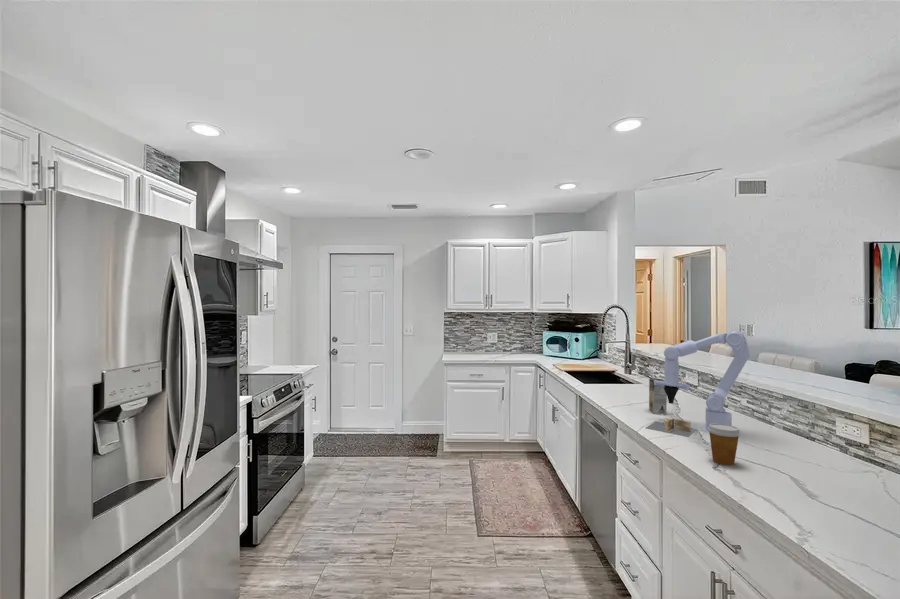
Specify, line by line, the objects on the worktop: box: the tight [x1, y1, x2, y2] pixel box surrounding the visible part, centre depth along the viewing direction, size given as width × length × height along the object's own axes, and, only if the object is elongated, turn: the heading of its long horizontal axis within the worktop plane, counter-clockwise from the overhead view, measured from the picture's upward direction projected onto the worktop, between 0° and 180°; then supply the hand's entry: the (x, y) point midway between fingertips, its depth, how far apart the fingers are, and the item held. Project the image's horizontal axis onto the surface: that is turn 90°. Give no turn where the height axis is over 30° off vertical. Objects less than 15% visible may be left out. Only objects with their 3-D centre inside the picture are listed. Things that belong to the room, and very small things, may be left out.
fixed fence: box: [674, 418, 692, 432], centre depth 182 cm, size 6×1×4 cm, turn 48°
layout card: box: [645, 421, 699, 438], centre depth 184 cm, size 17×15×1 cm
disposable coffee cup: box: [708, 423, 741, 466], centre depth 148 cm, size 10×10×12 cm
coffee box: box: [648, 378, 668, 416], centre depth 215 cm, size 9×6×16 cm
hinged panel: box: [663, 417, 675, 433], centre depth 182 cm, size 8×2×4 cm, turn 137°
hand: (671, 403), depth 194 cm, fingers closed
